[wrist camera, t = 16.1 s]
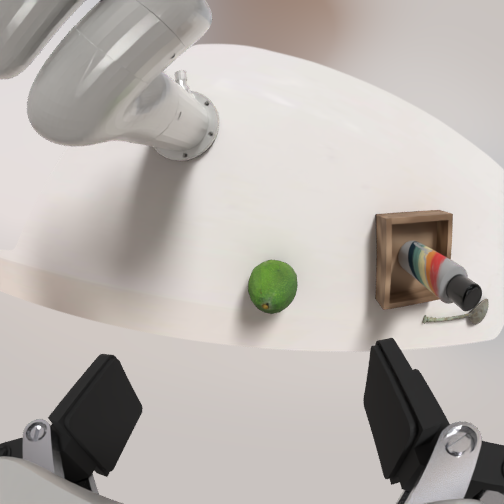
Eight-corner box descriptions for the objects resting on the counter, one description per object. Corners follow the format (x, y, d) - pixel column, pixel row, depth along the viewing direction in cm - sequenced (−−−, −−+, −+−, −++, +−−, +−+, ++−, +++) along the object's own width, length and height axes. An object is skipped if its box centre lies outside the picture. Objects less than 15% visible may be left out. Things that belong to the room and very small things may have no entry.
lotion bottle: (421, 236, 43) (489, 273, 23) (423, 265, 44) (485, 311, 25) (395, 243, 44) (458, 285, 24) (398, 272, 45) (455, 325, 26)
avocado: (248, 254, 47) (240, 280, 36) (294, 251, 46) (300, 276, 35) (253, 296, 49) (246, 331, 38) (296, 294, 48) (301, 329, 37)
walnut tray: (375, 214, 43) (386, 218, 39) (438, 210, 42) (452, 213, 37) (375, 298, 47) (383, 309, 43) (434, 288, 46) (445, 297, 41)
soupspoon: (481, 318, 48) (488, 295, 46) (488, 324, 45) (495, 299, 43) (419, 330, 49) (425, 303, 48) (425, 338, 46) (433, 309, 44)
